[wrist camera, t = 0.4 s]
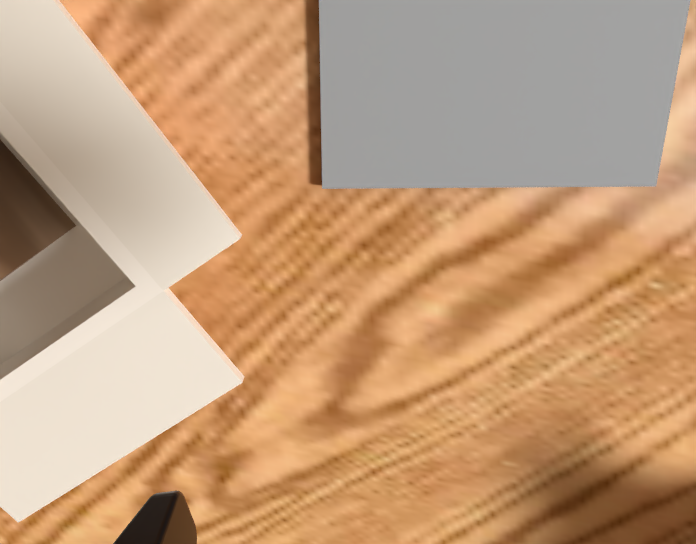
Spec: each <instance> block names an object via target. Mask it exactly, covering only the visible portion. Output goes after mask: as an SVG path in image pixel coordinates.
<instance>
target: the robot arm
mask: <svg viewBox="0 0 696 544" xmlns="http://www.w3.org/2000/svg"><path fill="white" fill-rule="evenodd" d="M113 544H197V533H196V526H195V523H194V521H193V518H192V515H191V513H190V510H189V508H188V505H187V503H186V500H185V497H184V496H183V494H182V493H181V492H180V491H170V492H162V493H156V494H154V495H153V496H151V497H150V498H149V499H148V501H147V502H146V503H145V504H144V506H143V507H142V508H141V509H140V511H139V512H138V513H137V514H136V516H135V517H134V518H133V519H132V521H131V522H130V523H129V524H128V526H127V527H126V528H125V529H124V531H123V532H122V533H121V534H120V536H119V537H118V538H117V539H116V541H115V542H114V543H113Z"/></svg>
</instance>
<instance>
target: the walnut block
mask: <svg viewBox="0 0 696 544" xmlns="http://www.w3.org/2000/svg"><path fill="white" fill-rule="evenodd" d="M75 226H76V225H75V224H74V222H73V221H72V220H71V219H70V218H69V217H68V216H67V214H66V213H65V212H64V211H63V210H62V209H61V208H60V207H59V205H58V204H57V203H56V202H55V201H54V200H53V199H52V197H51V196H50V195H49V194H48V193H47V192H46V191H45V190H44V188H43V187H42V186H41V185H40V184H39V183H38V182H37V181H36V179H35V178H34V177H33V176H32V175H31V174H30V173H29V171H28V170H27V169H26V168H25V167H24V166H23V165H22V164H21V162H20V161H19V160H18V159H17V158H16V157H15V156H14V154H13V153H12V152H11V151H10V150H9V149H8V148H7V147H6V145H5V144H4V143H3V142H2V141H1V140H0V281H1V280H3V279H4V278H5V277H7V276H8V275H9V274H11V273H12V272H14V271H15V270H16V269H18V268H19V267H20V266H22V265H23V264H24V263H26V262H27V261H29V260H30V259H31V258H33V257H34V256H35V255H37V254H38V253H40V252H41V251H42V250H44V249H45V248H46V247H48V246H49V245H50V244H52V243H53V242H55V241H56V240H57V239H59V238H60V237H61V236H63V235H64V234H66V233H67V232H68V231H70V230H71V229H72V228H74V227H75Z"/></svg>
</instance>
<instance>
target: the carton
mask: <svg viewBox="0 0 696 544" xmlns="http://www.w3.org/2000/svg"><path fill="white" fill-rule="evenodd" d="M0 140H1V141H2V142H3V143H4V144H5V145H6V147H7V148H8V149H9V150H10V151H11V152H12V153H13V154H14V156H15V157H16V158H17V159H18V160H19V161H20V162H21V164H22V165H23V166H24V167H25V168H26V169H27V170H28V171H29V173H30V174H31V175H32V176H33V177H34V178H35V179H36V181H37V182H38V183H39V184H40V185H41V186H42V187H43V188H44V190H45V191H46V192H47V193H48V194H49V195H50V196H51V197H52V199H53V200H54V201H55V202H56V203H57V204H58V205H59V207H60V208H61V209H62V210H63V211H64V212H65V213H66V214H67V216H68V217H69V218H70V219H71V220H72V221H73V222H74V224H75V225H76V226H75V227H74V228H72V229H71V230H70V231H68V232H67V233H66V234H64V235H63V236H61V237H60V238H59V239H57V240H56V241H55V242H53V243H52V244H50V245H49V246H48V247H46V248H45V249H44V250H42V251H41V252H40V253H38V254H37V255H35V256H34V257H33V258H31V259H30V260H29V261H27V262H26V263H24V264H23V265H22V266H20V267H19V268H18V269H16V270H15V271H14V272H12V273H11V274H9V275H8V276H7V277H5V278H4V279H3V280H1V281H0V507H1V508H2V509H4V510H5V511H6V512H7V513H8V514H9V515H10V516H12V517H13V518H14V519H15V520H16V521H17V522H20V521H22V520H23V519H25V518H26V517H28V516H30V515H31V514H33V513H34V512H36V511H38V510H39V509H41V508H42V507H44V506H46V505H47V504H49V503H50V502H52V501H54V500H55V499H57V498H58V497H60V496H62V495H63V494H65V493H66V492H68V491H70V490H71V489H73V488H74V487H76V486H78V485H79V484H81V483H82V482H84V481H86V480H87V479H89V478H90V477H92V476H94V475H95V474H97V473H98V472H100V471H102V470H103V469H105V468H106V467H108V466H110V465H111V464H113V463H114V462H116V461H118V460H119V459H121V458H122V457H124V456H126V455H127V454H129V453H130V452H132V451H134V450H135V449H137V448H138V447H140V446H142V445H143V444H145V443H146V442H148V441H150V440H151V439H153V438H154V437H156V436H158V435H159V434H161V433H162V432H164V431H166V430H167V429H169V428H170V427H172V426H174V425H175V424H177V423H178V422H180V421H182V420H183V419H185V418H186V417H188V416H190V415H191V414H193V413H194V412H196V411H198V410H199V409H201V408H202V407H204V406H206V405H207V404H209V403H210V402H212V401H214V400H215V399H217V398H218V397H220V396H222V395H223V394H225V393H226V392H228V391H230V390H231V389H233V388H234V387H236V386H238V385H239V384H241V383H242V382H243V378H244V376H243V374H242V373H241V372H240V371H239V370H238V369H237V367H236V366H235V365H234V364H233V363H232V362H231V360H230V359H229V358H228V357H227V356H226V355H225V353H224V352H223V351H222V350H221V349H220V348H219V346H218V345H217V344H216V343H215V342H214V341H213V339H212V338H211V337H210V336H209V335H208V334H207V332H206V331H205V330H204V329H203V328H202V327H201V325H200V324H199V323H198V322H197V321H196V320H195V318H194V317H193V316H192V315H191V314H190V313H189V311H188V310H187V309H186V308H185V307H184V306H183V304H182V303H181V302H180V301H179V300H178V299H177V297H176V296H175V295H174V294H173V293H172V292H171V290H170V289H169V288H168V287H170V286H171V285H173V284H174V283H176V282H177V281H179V280H180V279H182V278H183V277H185V276H186V275H188V274H189V273H191V272H192V271H193V270H195V269H196V268H198V267H199V266H201V265H202V264H204V263H205V262H207V261H208V260H210V259H211V258H213V257H214V256H216V255H217V254H218V253H220V252H221V251H223V250H224V249H226V248H227V247H229V246H230V245H232V244H233V243H235V242H236V241H238V240H239V239H240V238H241V236H242V234H241V233H240V232H239V230H238V229H237V228H236V227H235V225H234V224H233V223H232V221H231V220H230V219H229V218H228V216H227V215H226V214H225V212H224V211H223V210H222V209H221V207H220V206H219V205H218V203H217V202H216V201H215V200H214V198H213V197H212V196H211V195H210V193H209V192H208V191H207V189H206V188H205V187H204V186H203V184H202V183H201V182H200V180H199V179H198V178H197V177H196V175H195V174H194V173H193V171H192V170H191V169H190V168H189V166H188V165H187V164H186V162H185V161H184V160H183V159H182V157H181V156H180V155H179V153H178V152H177V151H176V150H175V148H174V147H173V146H172V145H171V143H170V142H169V141H168V139H167V138H166V137H165V136H164V134H163V133H162V132H161V130H160V129H159V128H158V127H157V125H156V124H155V123H154V121H153V120H152V119H151V118H150V116H149V115H148V114H147V112H146V111H145V110H144V109H143V107H142V106H141V105H140V103H139V102H138V101H137V100H136V98H135V97H134V96H133V95H132V93H131V92H130V91H129V89H128V88H127V87H126V86H125V84H124V83H123V82H122V80H121V79H120V78H119V77H118V75H117V74H116V73H115V71H114V70H113V69H112V68H111V66H110V65H109V64H108V62H107V61H106V60H105V59H104V57H103V56H102V55H101V53H100V52H99V51H98V50H97V48H96V47H95V46H94V44H93V43H92V42H91V41H90V39H89V38H88V37H87V36H86V34H85V33H84V32H83V30H82V29H81V28H80V27H79V25H78V24H77V23H76V21H75V20H74V19H73V18H72V16H71V15H70V14H69V12H68V11H67V10H66V9H65V7H64V6H63V5H62V3H61V2H60V1H59V0H0Z"/></svg>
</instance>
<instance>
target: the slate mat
mask: <svg viewBox="0 0 696 544" xmlns="http://www.w3.org/2000/svg"><path fill="white" fill-rule="evenodd" d="M689 5H690V0H319V34H320V92H321V151H322V189H338V188H481V187H625V186H656V184H657V178H658V173H659V167H660V162H661V157H662V151H663V146H664V140H665V135H666V129H667V124H668V119H669V113H670V108H671V102H672V97H673V91H674V86H675V81H676V75H677V70H678V64H679V59H680V54H681V48H682V43H683V37H684V32H685V26H686V21H687V16H688V10H689Z"/></svg>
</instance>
